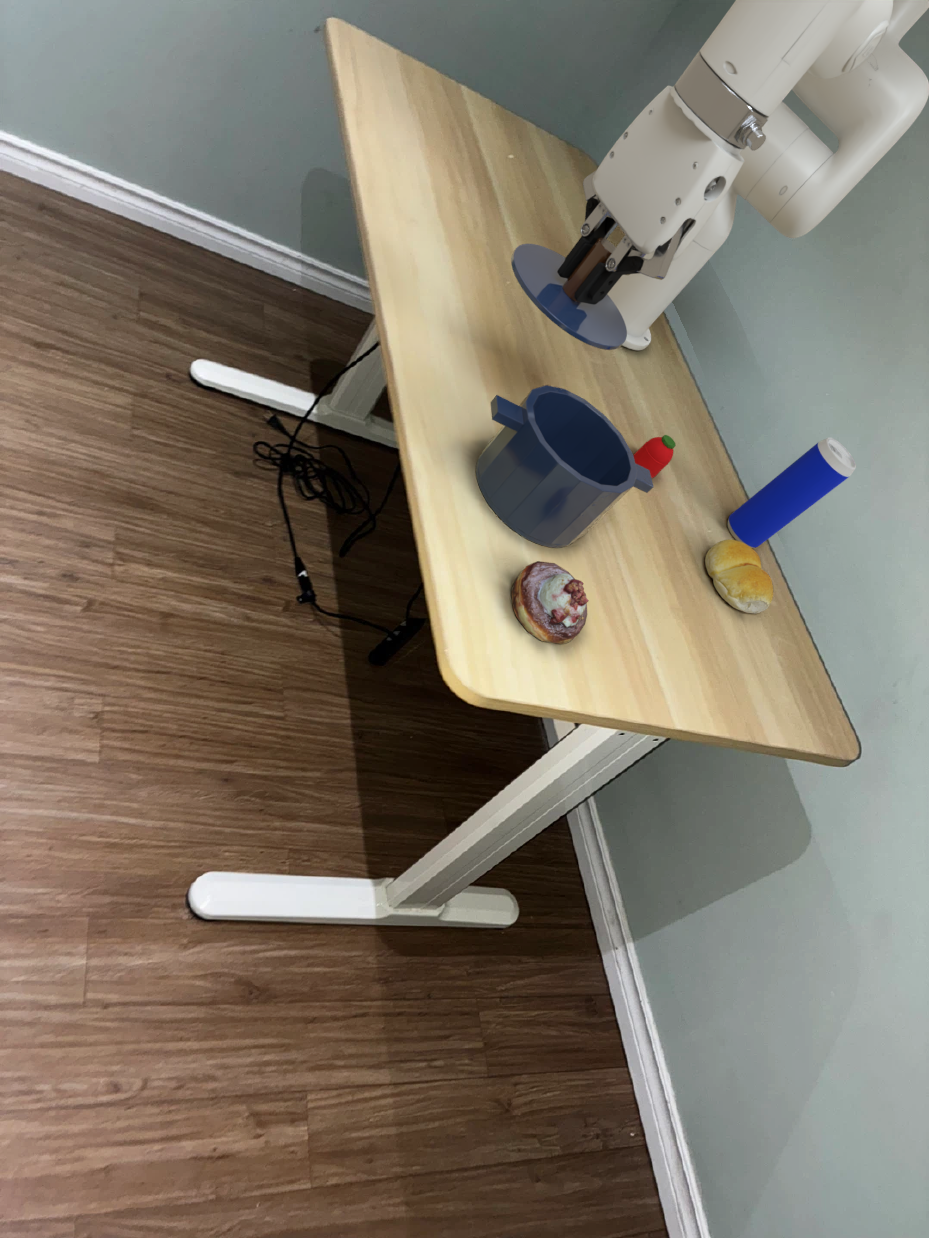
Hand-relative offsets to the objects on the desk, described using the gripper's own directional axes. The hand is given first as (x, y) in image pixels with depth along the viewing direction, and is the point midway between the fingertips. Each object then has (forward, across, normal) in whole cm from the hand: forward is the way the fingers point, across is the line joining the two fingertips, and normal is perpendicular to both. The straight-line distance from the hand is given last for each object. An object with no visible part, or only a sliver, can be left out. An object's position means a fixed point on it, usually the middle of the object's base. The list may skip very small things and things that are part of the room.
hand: (577, 287), depth 78 cm
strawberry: (+14, -10, -18) cm, 25 cm away
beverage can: (+14, -21, -29) cm, 39 cm away
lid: (+1, 0, 0) cm, 1 cm away
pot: (+14, -14, +4) cm, 20 cm away
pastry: (+15, -26, +11) cm, 32 cm away
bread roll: (+14, -28, -20) cm, 37 cm away
